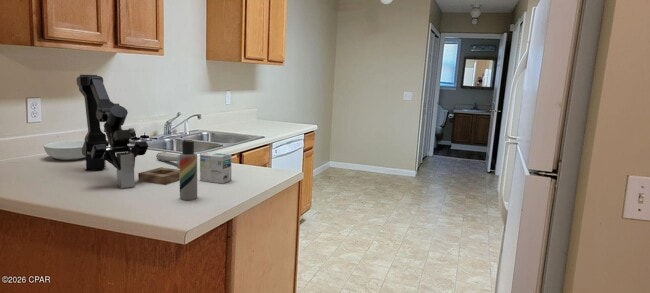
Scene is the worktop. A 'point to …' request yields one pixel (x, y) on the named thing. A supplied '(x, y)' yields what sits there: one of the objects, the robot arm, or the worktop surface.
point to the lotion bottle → (188, 171)
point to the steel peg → (125, 170)
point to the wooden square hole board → (160, 175)
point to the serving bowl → (65, 150)
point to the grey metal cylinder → (168, 157)
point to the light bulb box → (215, 167)
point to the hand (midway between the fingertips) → (126, 168)
